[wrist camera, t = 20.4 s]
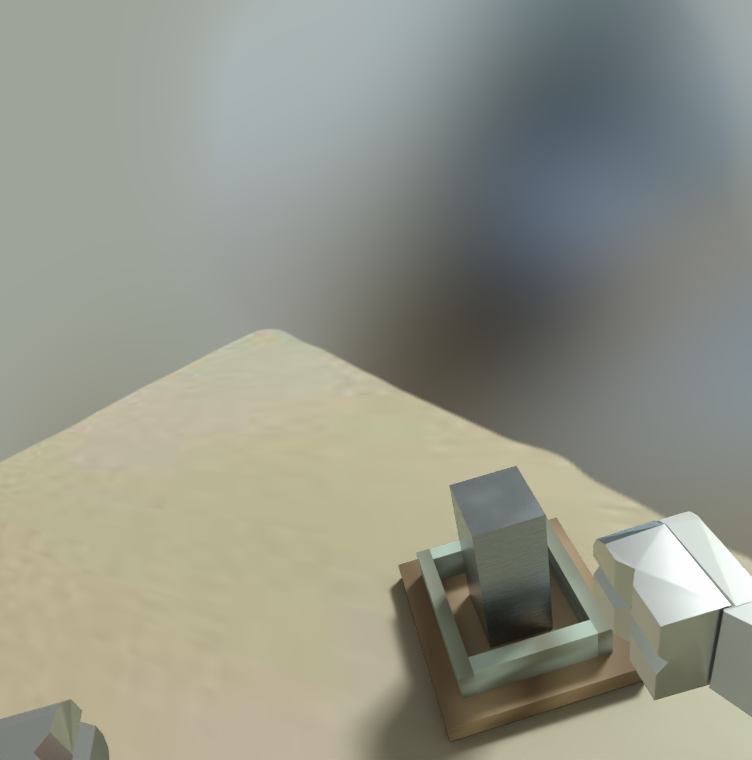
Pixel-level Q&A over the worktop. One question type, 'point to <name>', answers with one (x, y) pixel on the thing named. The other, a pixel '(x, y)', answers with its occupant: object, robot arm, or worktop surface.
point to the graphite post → (504, 554)
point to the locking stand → (512, 642)
